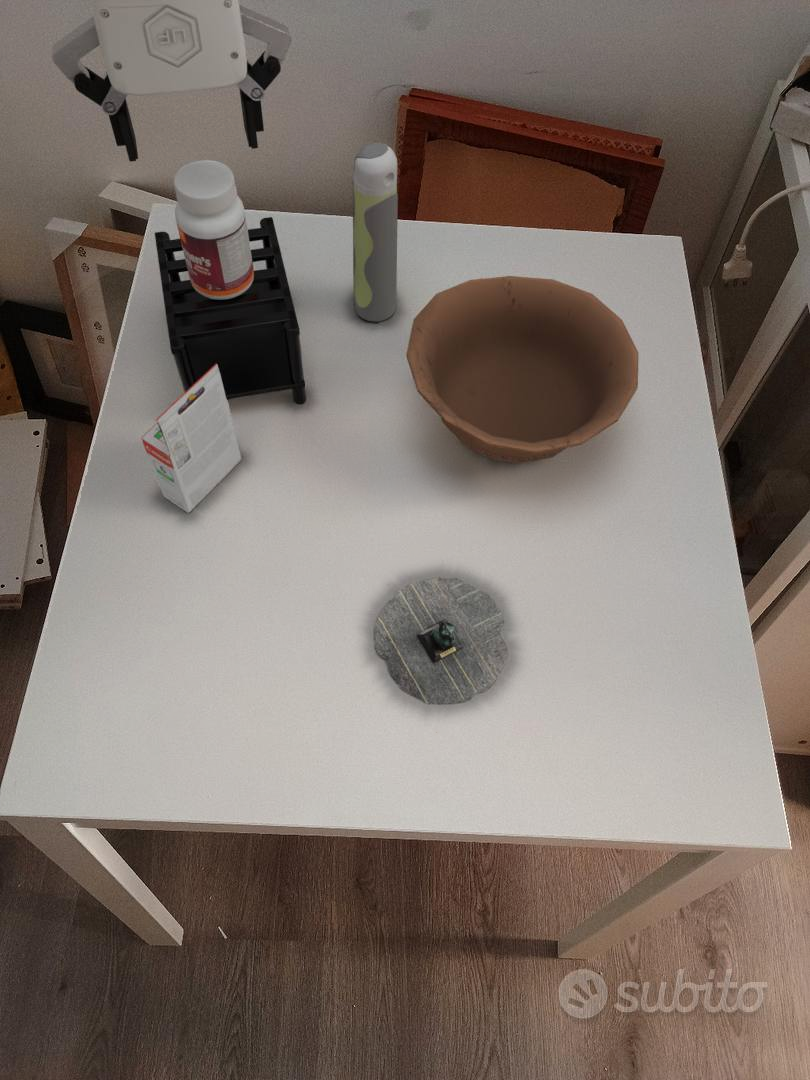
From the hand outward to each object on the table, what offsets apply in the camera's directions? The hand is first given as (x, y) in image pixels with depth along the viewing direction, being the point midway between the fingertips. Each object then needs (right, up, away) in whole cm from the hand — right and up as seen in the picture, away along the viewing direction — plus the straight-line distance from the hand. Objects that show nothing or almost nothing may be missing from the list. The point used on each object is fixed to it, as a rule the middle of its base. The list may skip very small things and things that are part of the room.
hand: (192, 144), depth 68 cm
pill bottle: (0, -7, +13) cm, 15 cm away
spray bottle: (+14, -6, +27) cm, 31 cm away
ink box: (-3, -27, +14) cm, 30 cm away
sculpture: (+21, -41, +7) cm, 47 cm away
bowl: (+28, -20, +19) cm, 40 cm away
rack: (-1, -12, +22) cm, 26 cm away
